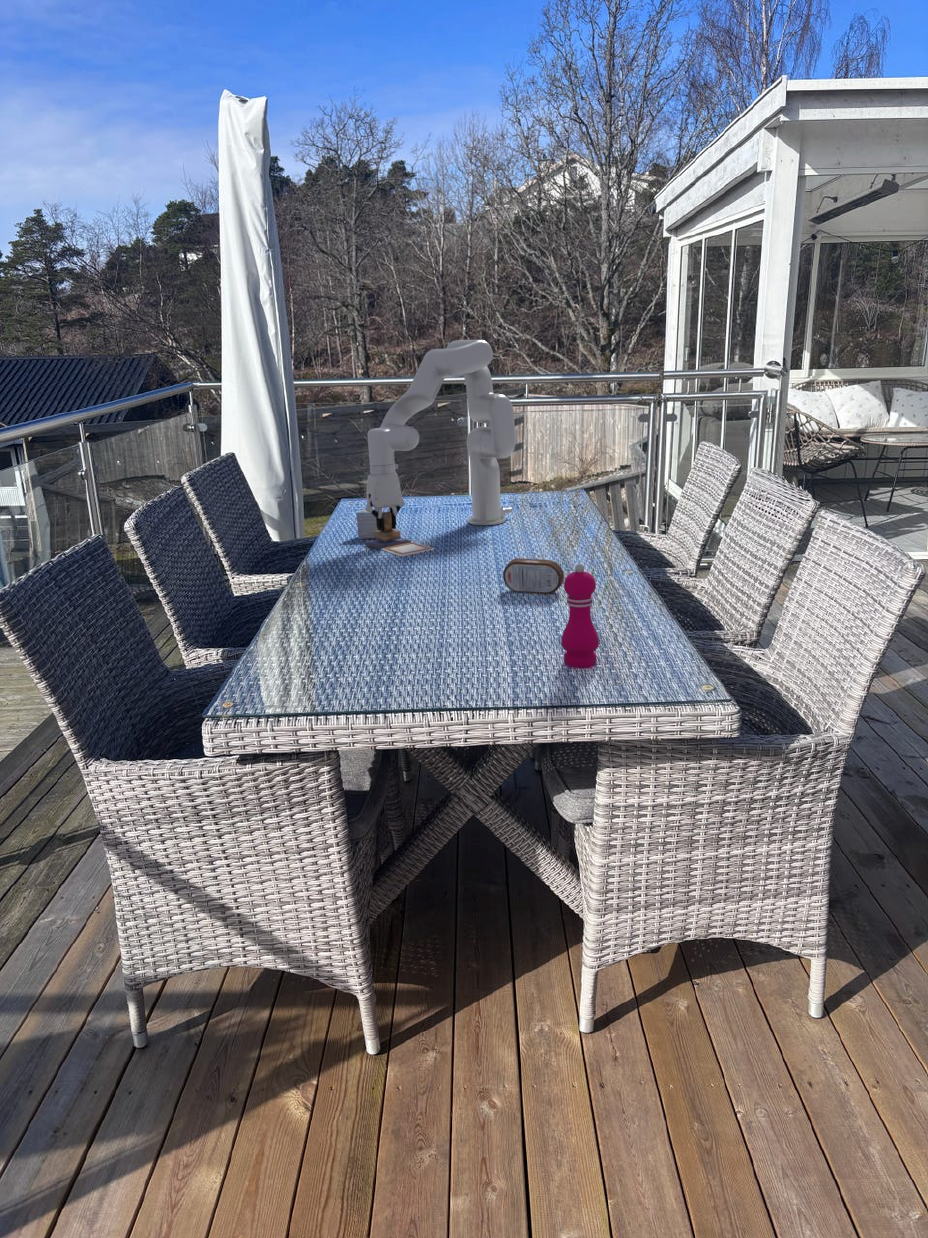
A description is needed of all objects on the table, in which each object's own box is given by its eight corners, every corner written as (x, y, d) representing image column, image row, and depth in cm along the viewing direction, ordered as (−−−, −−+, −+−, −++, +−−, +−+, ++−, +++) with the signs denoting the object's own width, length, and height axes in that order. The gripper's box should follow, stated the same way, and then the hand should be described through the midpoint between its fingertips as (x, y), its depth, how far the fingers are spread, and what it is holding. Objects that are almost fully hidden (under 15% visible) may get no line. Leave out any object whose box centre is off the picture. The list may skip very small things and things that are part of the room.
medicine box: (385, 535, 289) (383, 509, 286) (382, 538, 285) (380, 512, 282) (361, 536, 290) (358, 509, 287) (358, 539, 286) (356, 512, 283)
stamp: (391, 535, 280) (389, 510, 278) (400, 538, 276) (399, 512, 273) (374, 538, 277) (372, 513, 275) (383, 541, 272) (381, 515, 270)
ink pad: (398, 539, 283) (398, 535, 283) (411, 543, 277) (410, 539, 277) (364, 545, 277) (364, 541, 277) (377, 549, 271) (376, 545, 270)
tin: (564, 592, 220) (564, 559, 217) (561, 596, 217) (561, 562, 214) (505, 589, 225) (504, 556, 222) (502, 592, 222) (501, 560, 219)
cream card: (414, 542, 277) (414, 541, 277) (435, 549, 268) (435, 547, 267) (380, 549, 271) (380, 547, 271) (400, 556, 261) (400, 554, 261)
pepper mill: (558, 657, 177) (557, 560, 171) (594, 655, 177) (594, 557, 171) (565, 671, 170) (564, 569, 164) (602, 668, 171) (603, 567, 164)
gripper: (400, 465, 277) (403, 523, 283) (352, 471, 269) (357, 531, 274) (412, 467, 271) (415, 527, 277) (364, 474, 263) (369, 535, 268)
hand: (386, 528), depth 275 cm, fingers closed on stamp, 3 cm apart
